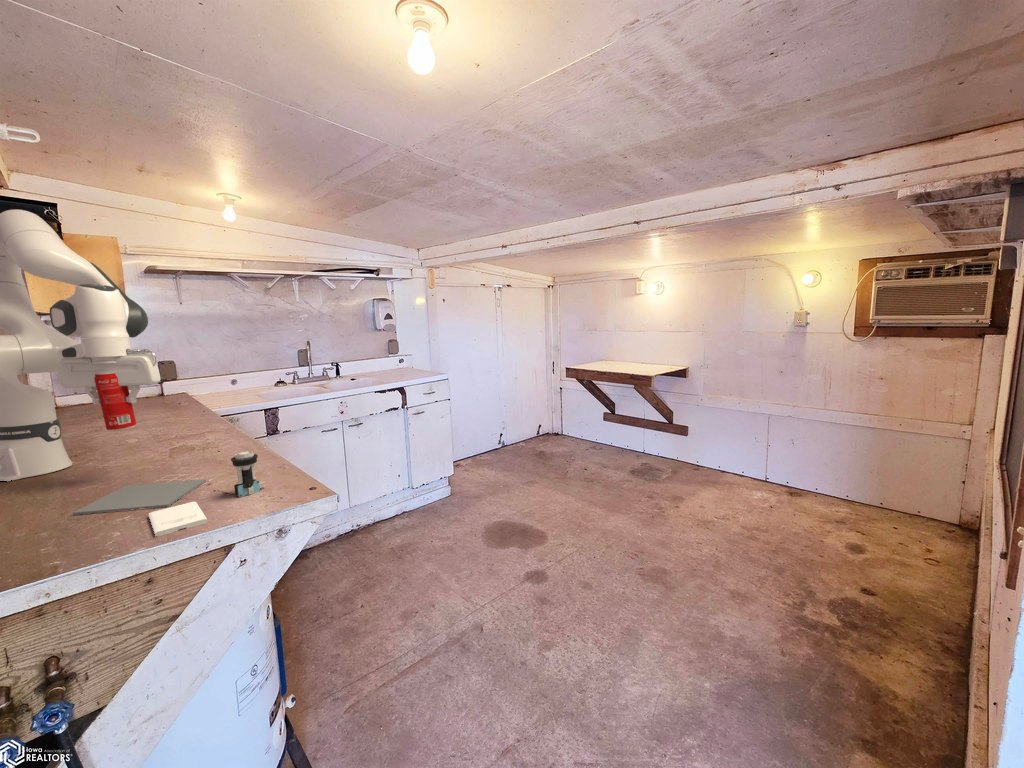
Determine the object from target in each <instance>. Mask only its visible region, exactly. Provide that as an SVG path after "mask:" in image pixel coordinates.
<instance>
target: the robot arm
mask: <svg viewBox="0 0 1024 768" xmlns="http://www.w3.org/2000/svg"><path fill="white" fill-rule="evenodd" d="M22 271H24V272H26V273H28V274H29V275H31V276H34V277H37V278H41V279H45V280H51V281H55V282H59V283H60V282H61V283H65V284H70V285H73V286H75V289H74V294H72V295H71V296H68V297H67V298H65V299H59V300H58V301H56V302H55V303H53V304H52V306H50V307H49V319H50V323H51V326H52V327H50V326H49V325H47V323H45V322H44V321H43V320H42V319H41V318H40V316H39V315H38V314H37V312H36V310H35V308H34V306H33V304H32V301H31V298H30V295H29V292H28V288H27V285H26V283H25V280H24V277H23V275H22ZM148 325H149V317H148V314H147V312H146V311H145V309H144V308H143V307H142V306H141V305H139V304H138V303H137V302H136V301H135V300H134V299H131V298H130V297H129V296H128V295H127V294H125V292H124V291H123V290H121V288H120V287H119V286H118V285H116V283H115V282H114V281H113V280H112V279H111V278H110V277H109V276H108V275H107V274H106V273H105V272H104V271H103V270H102V269H101V268H100V267H99V266H97V265H96V264H95V263H93V262H91V261H89V260H88V259H85V258H84V257H82V256H81V255H80V254H78V253H76V252H75V251H73V250H72V249H71V248H70V247H69V246H68V245H67V244H65V243H64V241H63V240H62V239H61V237H60V236H59V234H58V233H57V232H56V231H55V230H54V229H53V227H52V226H50V224H48V223H47V222H46V221H45V220H44V219H43V218H42V217H40V216H39V215H38V214H36V213H34V212H31V211H28V210H25V209H8V210H5V211H2V212H0V329H2V330H4V331H5V332H7V333H9V334H1V335H0V481H7V482H11V480H12V481H16V480H20V479H25V478H30V477H35V476H36V477H37V476H40V475H45V474H51V473H53V472H56V471H60V470H63V469H66V468H68V467H71V466H73V464H74V463H73V461H72V460H71V459H70V457H69V455H68V452H67V450H66V448H65V446H64V443H63V439H62V427H61V422H60V419H58V418H57V411H56V405H55V401H54V400H55V399H54V396H53V394H51V392H50V391H48V390H46V389H44V388H42V387H37V386H33V385H29V384H25V383H22V382H21V381H20V380H19V378H18V376H20V375H25V374H26V375H28V374H29V375H30V374H41V373H43V374H44V373H45V374H46V373H55V372H57V376H58V381H59V384H60V386H62V387H63V388H65V389H71V388H72V389H73V388H74V389H76V388H77V389H79V388H80V389H81V388H84V391H85V393H86V394H87V395H88V396H89V397H90V398H91V399H92V401H91V402H92V405H94V406H97V405H98V406H99V405H100V401H99V397H98V392H97V388H96V384H95V380H94V378H95V374H106V373H115V374H116V376H117V377H118V384H119V386H128V389H129V393H130V394H129V396H127V397H125V399H126V403H132V404H136V403H137V402H138V400H137V396H138V394H139V392H140V390H141V386H152V385H153V386H154V385H156V384H159V383H160V382H161V379H162V378H161V374H160V370H159V367H158V363H157V362H158V361H157V355H156V353H154V352H153V351H152V350H149V348H142V349H138V348H134V349H133V348H132V345H131V340H130V338H132V339H133V338H136V337H138V336H139V335H140V334H142V333H143V332H144V331H145V330H146V329H147V328H148ZM71 337H74V338H80V343H78V342H77V341H75V340H74V339H73V338H71ZM100 406H101V405H100Z"/></svg>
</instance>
